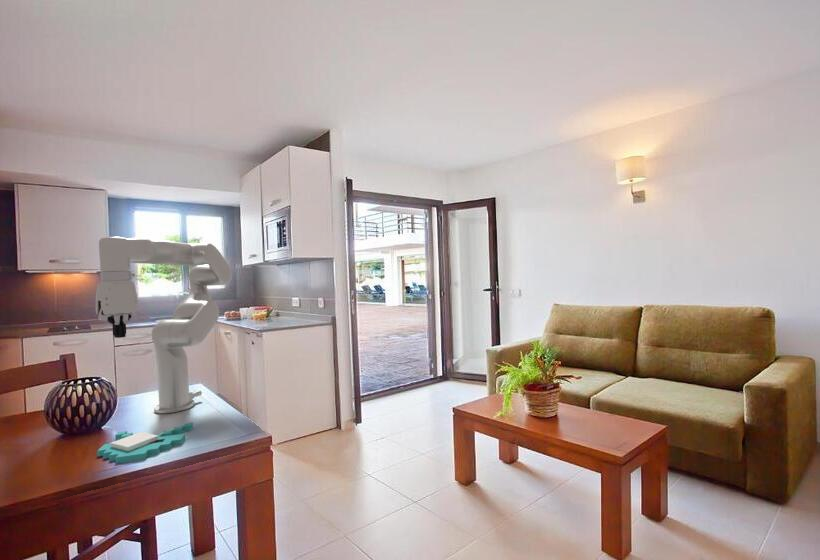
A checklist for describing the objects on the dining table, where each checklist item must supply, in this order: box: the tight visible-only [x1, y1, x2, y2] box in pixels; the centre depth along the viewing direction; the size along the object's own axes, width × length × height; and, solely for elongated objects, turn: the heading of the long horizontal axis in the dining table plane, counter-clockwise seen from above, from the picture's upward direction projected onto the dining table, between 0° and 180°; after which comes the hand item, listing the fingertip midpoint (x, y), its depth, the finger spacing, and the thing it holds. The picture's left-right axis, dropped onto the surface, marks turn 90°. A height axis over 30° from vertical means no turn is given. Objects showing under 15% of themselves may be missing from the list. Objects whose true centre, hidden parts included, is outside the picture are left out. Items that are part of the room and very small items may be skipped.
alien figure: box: [96, 422, 194, 464], centre depth 115 cm, size 20×2×20 cm
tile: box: [110, 431, 158, 451], centre depth 113 cm, size 1×8×8 cm
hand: (119, 337), depth 127 cm, fingers closed
